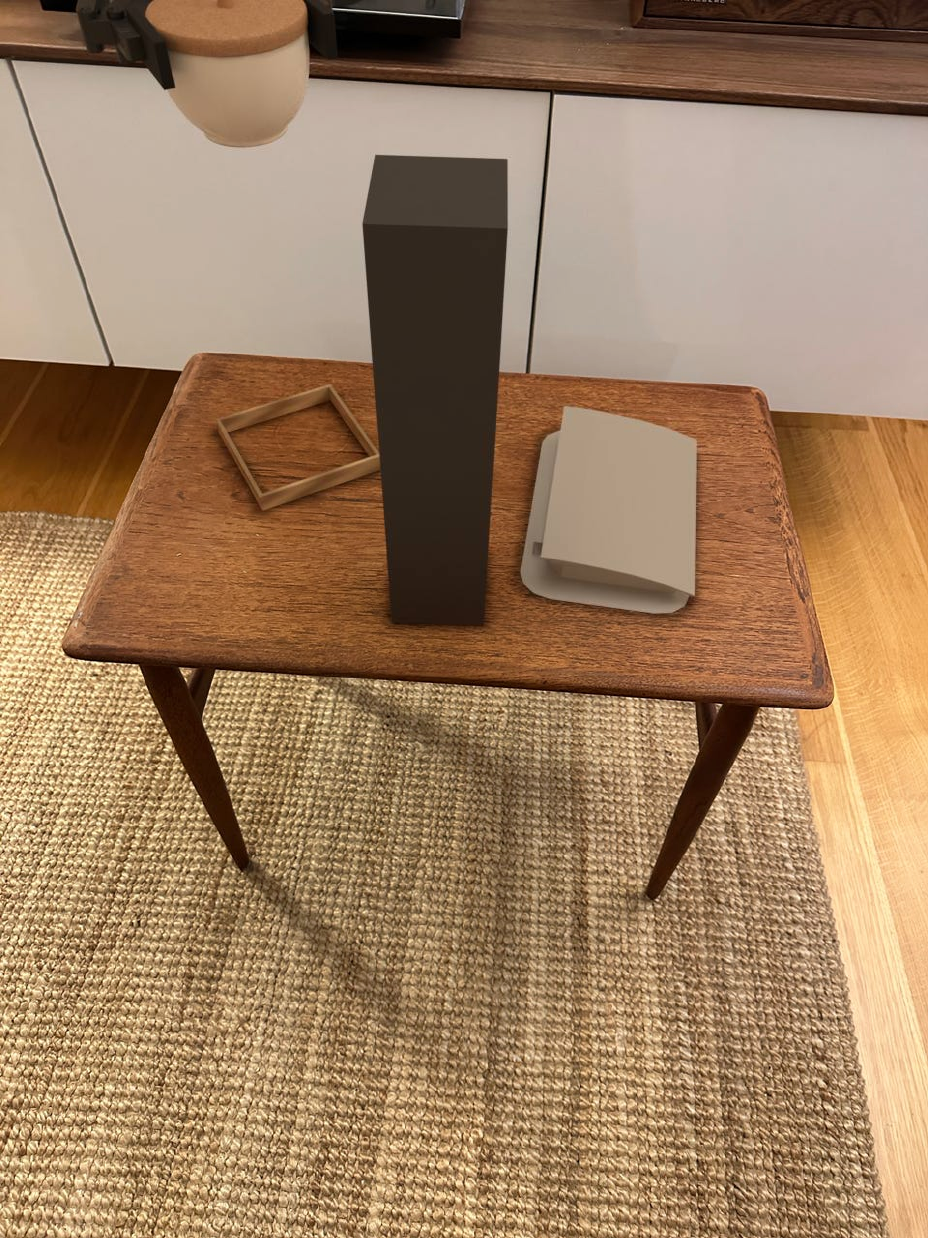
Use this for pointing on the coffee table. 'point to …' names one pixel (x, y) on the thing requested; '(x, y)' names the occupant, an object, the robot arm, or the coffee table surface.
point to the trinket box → (236, 65)
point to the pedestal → (436, 373)
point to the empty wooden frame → (310, 483)
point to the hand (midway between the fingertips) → (250, 50)
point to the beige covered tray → (613, 515)
